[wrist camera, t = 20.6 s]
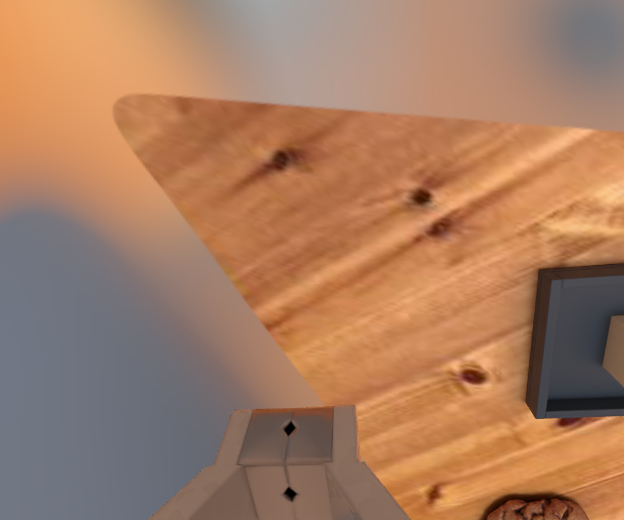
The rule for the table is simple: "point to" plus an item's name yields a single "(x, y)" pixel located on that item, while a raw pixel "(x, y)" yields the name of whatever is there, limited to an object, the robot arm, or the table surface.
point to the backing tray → (575, 343)
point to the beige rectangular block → (615, 349)
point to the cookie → (538, 511)
